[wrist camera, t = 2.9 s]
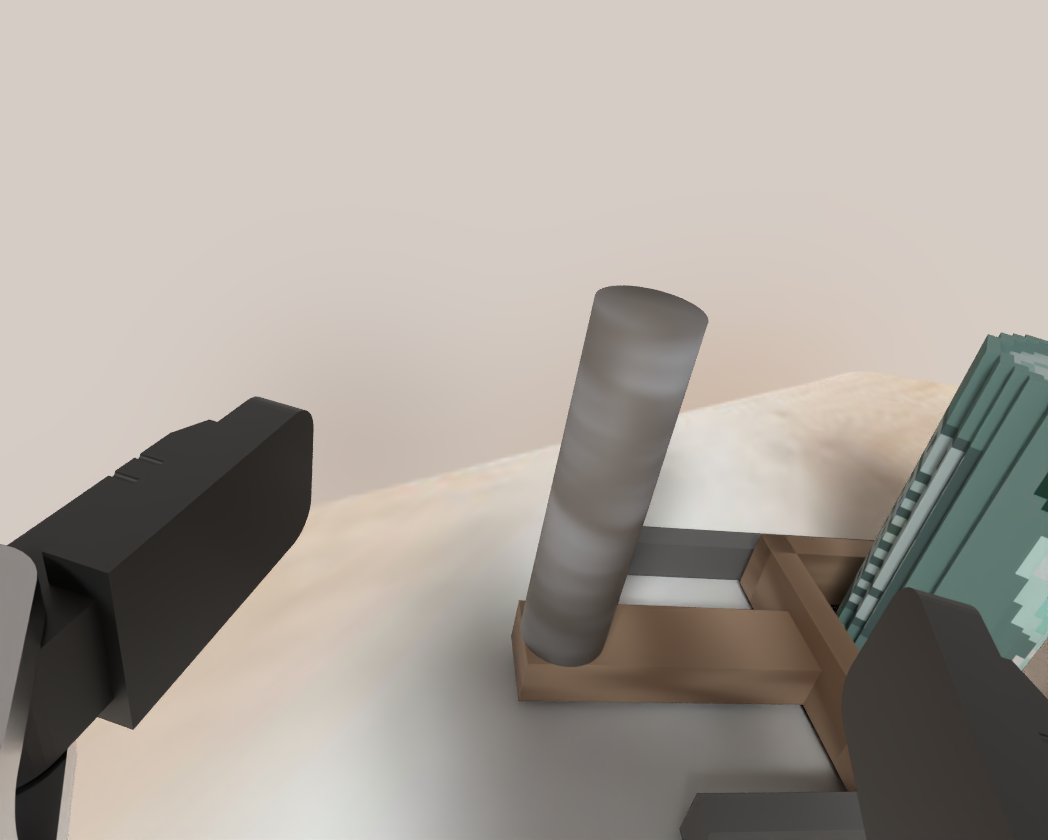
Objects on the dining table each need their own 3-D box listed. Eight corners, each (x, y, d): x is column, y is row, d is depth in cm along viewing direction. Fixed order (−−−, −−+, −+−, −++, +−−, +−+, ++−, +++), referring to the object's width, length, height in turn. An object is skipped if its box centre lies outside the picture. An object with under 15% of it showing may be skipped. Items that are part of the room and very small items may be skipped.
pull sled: (1059, 597, 36) (1259, 335, 28) (1260, 792, 27) (1627, 486, 20) (501, 571, 31) (566, 243, 23) (527, 800, 22) (644, 392, 15)
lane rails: (1142, 584, 39) (1164, 558, 38) (1454, 844, 27) (1498, 816, 26) (600, 556, 34) (609, 524, 33) (691, 868, 22) (709, 832, 21)
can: (964, 779, 26) (1232, 450, 19) (804, 690, 28) (985, 368, 21) (970, 676, 31) (1187, 380, 23) (833, 608, 33) (989, 320, 26)
